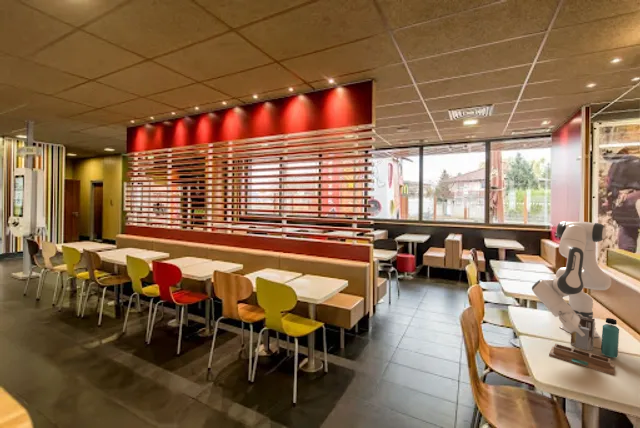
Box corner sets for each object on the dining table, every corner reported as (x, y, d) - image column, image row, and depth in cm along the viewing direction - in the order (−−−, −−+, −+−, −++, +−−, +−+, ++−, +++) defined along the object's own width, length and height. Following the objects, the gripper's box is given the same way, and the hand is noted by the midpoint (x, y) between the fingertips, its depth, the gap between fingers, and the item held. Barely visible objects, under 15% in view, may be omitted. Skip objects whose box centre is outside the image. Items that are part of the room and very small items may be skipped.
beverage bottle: (621, 361, 154) (624, 322, 153) (605, 359, 156) (608, 320, 155) (611, 355, 161) (614, 317, 160) (596, 353, 162) (599, 316, 161)
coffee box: (593, 347, 169) (595, 318, 168) (591, 351, 165) (593, 321, 164) (572, 341, 176) (574, 313, 175) (569, 344, 171) (571, 316, 171)
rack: (552, 348, 166) (553, 340, 166) (613, 365, 150) (614, 357, 149) (548, 356, 157) (549, 348, 157) (613, 375, 140) (614, 367, 140)
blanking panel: (575, 345, 156) (577, 325, 155) (587, 348, 153) (589, 328, 152) (575, 346, 154) (576, 327, 153) (587, 350, 151) (588, 329, 150)
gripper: (564, 310, 150) (589, 337, 143) (568, 302, 165) (591, 326, 158) (552, 317, 153) (576, 343, 147) (557, 308, 168) (579, 331, 161)
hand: (584, 334), depth 153 cm, fingers closed on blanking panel, 3 cm apart
